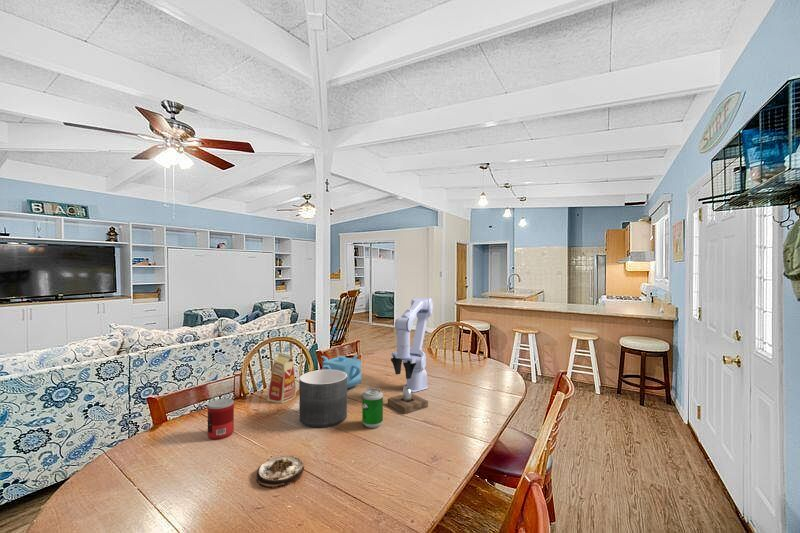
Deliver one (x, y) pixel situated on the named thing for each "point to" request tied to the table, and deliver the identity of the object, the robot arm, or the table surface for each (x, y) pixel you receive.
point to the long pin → (407, 395)
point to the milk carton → (282, 380)
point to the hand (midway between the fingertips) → (403, 376)
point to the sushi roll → (280, 472)
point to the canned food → (220, 418)
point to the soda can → (372, 408)
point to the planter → (322, 398)
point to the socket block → (407, 407)
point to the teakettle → (345, 368)
